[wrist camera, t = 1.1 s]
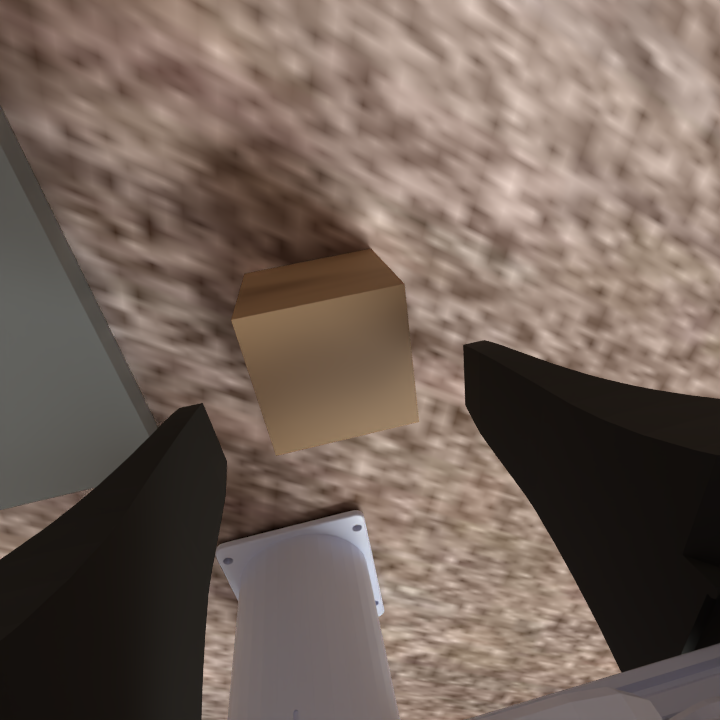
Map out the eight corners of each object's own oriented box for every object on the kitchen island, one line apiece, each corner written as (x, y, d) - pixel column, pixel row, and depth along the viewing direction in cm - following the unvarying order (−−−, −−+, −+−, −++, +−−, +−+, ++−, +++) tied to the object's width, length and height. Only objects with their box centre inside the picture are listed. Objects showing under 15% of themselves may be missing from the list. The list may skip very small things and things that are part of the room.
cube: (385, 358, 18) (418, 421, 14) (277, 382, 18) (276, 456, 14) (370, 247, 16) (404, 284, 12) (244, 273, 16) (230, 319, 11)
